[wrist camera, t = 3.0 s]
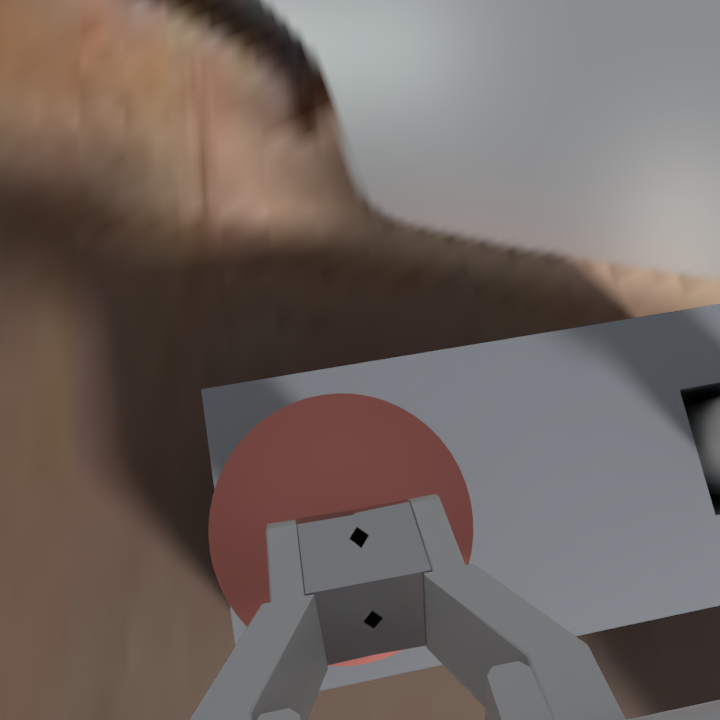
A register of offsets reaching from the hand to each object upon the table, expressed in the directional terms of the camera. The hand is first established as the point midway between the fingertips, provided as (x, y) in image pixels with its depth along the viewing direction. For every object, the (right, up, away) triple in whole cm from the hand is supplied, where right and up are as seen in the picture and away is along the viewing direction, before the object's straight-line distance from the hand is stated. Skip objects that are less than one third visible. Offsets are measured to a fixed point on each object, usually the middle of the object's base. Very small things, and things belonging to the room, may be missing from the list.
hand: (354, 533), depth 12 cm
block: (+6, -3, +21) cm, 22 cm away
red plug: (-1, -3, +15) cm, 15 cm away
